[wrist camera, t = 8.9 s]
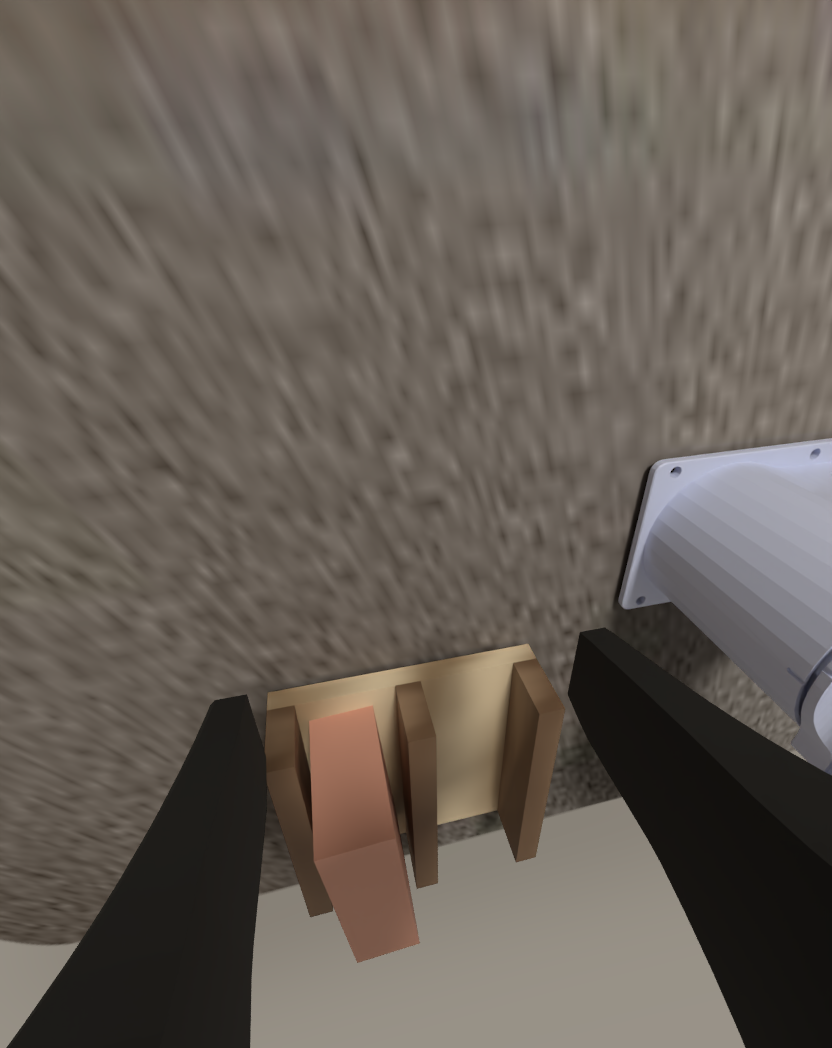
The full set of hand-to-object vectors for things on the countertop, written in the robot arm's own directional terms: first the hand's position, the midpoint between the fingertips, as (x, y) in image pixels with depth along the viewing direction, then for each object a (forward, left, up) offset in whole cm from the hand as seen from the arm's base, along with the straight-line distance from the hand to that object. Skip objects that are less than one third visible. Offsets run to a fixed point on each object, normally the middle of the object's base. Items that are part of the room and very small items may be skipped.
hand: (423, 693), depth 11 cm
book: (+2, +16, -8) cm, 18 cm away
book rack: (-1, +16, -9) cm, 19 cm away
